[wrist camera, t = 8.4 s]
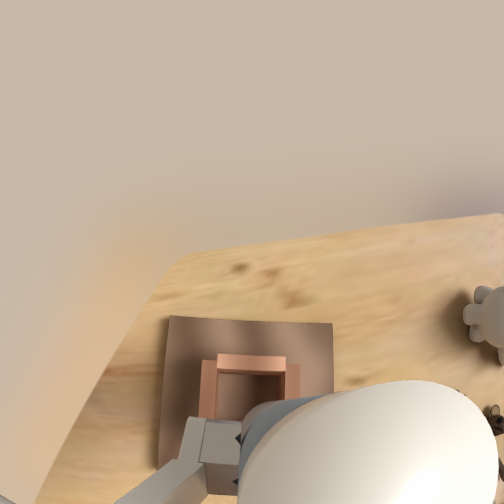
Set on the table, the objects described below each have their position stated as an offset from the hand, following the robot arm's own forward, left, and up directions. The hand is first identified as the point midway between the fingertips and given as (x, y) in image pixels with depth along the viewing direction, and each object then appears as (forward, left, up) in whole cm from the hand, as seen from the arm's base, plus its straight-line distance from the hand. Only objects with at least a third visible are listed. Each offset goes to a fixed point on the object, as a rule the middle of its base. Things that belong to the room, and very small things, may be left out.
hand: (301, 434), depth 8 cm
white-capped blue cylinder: (0, -1, -8) cm, 8 cm away
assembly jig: (-1, +1, -22) cm, 22 cm away
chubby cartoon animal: (+29, +7, -22) cm, 37 cm away
